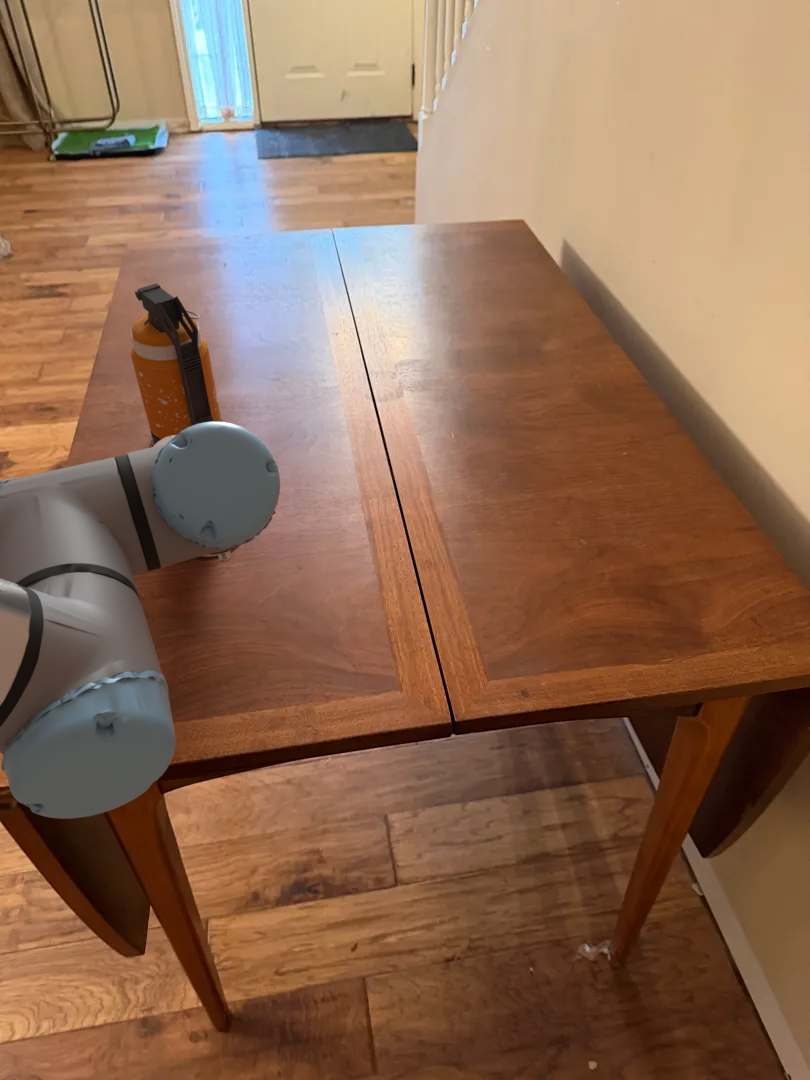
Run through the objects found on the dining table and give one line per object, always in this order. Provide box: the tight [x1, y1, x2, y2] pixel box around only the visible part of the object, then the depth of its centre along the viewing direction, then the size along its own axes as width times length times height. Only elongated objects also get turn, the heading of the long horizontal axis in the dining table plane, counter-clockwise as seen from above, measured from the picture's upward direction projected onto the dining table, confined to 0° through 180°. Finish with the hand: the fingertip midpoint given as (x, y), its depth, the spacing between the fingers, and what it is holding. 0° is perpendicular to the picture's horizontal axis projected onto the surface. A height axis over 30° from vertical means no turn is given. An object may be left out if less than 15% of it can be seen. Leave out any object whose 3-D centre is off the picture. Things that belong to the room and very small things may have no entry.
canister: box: [130, 283, 223, 445], centre depth 94 cm, size 9×11×20 cm
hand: (193, 536), depth 82 cm, fingers closed
